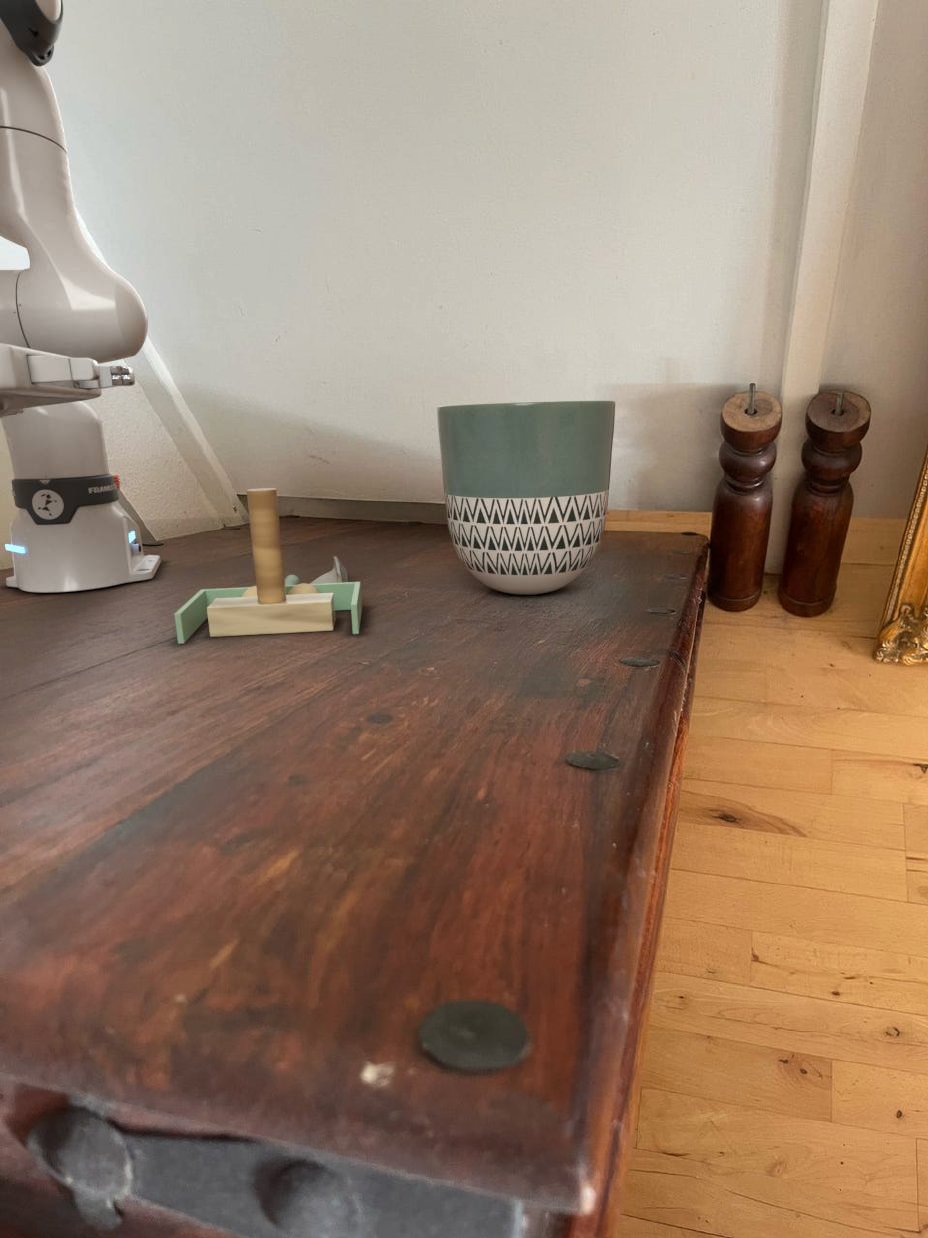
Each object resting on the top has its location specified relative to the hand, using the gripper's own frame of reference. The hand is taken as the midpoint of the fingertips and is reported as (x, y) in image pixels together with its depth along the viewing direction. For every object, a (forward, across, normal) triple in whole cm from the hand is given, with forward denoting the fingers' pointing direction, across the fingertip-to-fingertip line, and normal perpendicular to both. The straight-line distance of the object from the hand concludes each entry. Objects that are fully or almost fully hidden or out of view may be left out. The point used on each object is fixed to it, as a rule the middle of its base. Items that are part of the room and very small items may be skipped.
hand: (115, 372), depth 68 cm
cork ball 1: (+10, +4, +23) cm, 26 cm away
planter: (+40, +11, +25) cm, 49 cm away
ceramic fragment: (+17, +17, +25) cm, 35 cm away
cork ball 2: (+15, +4, +23) cm, 28 cm away
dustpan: (+12, +6, +25) cm, 28 cm away
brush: (+12, 0, +25) cm, 28 cm away
